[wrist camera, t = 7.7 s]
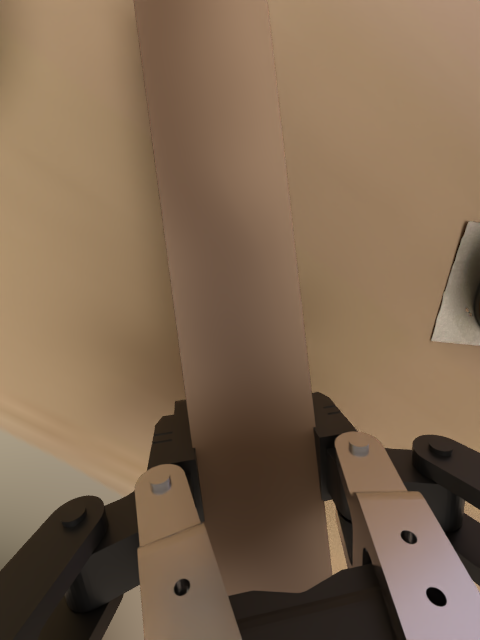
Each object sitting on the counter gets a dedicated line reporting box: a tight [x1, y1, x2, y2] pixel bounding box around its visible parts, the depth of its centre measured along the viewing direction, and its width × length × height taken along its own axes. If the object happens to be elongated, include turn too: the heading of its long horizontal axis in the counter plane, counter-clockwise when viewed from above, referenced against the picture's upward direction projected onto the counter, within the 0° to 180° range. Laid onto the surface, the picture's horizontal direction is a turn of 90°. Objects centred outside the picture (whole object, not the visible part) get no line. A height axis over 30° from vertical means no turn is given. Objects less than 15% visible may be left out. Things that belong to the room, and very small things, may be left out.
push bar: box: [134, 0, 332, 596], centre depth 12 cm, size 4×24×5 cm, turn 5°
